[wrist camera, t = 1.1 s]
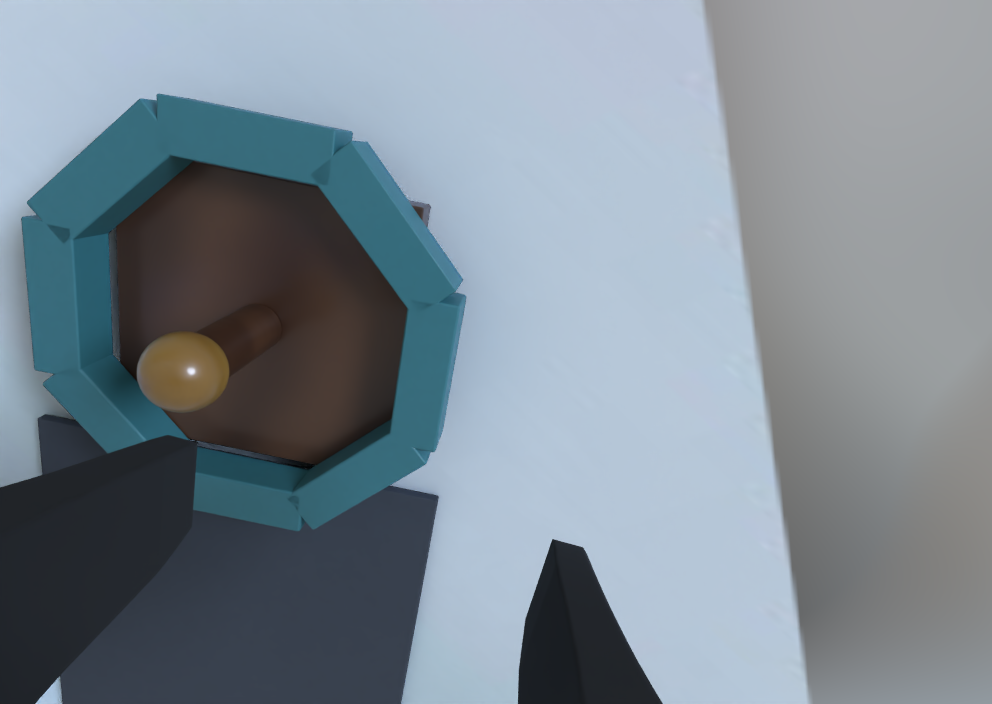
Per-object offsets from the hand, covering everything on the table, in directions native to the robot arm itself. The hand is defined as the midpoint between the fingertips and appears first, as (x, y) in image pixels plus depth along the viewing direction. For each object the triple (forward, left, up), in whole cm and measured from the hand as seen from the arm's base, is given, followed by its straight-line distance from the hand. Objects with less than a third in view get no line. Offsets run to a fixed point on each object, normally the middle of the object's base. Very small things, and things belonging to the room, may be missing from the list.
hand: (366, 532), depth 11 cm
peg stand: (-6, 0, -10) cm, 12 cm away
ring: (-6, 0, -8) cm, 10 cm away
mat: (-7, -14, -10) cm, 19 cm away
